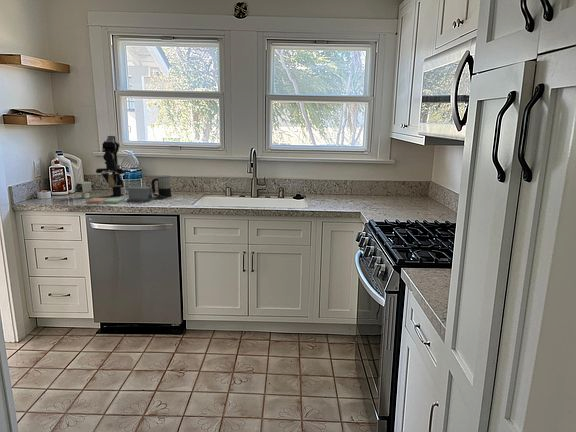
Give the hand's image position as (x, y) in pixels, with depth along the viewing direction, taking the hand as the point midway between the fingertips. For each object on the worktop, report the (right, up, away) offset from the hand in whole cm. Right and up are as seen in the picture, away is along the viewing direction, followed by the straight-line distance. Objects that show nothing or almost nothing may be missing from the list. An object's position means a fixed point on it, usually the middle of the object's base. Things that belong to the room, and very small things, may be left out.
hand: (112, 183), depth 289 cm
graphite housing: (+16, -11, +9) cm, 22 cm away
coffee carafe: (+28, -8, +21) cm, 36 cm away
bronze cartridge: (0, -2, 0) cm, 2 cm away
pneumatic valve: (-26, -9, +16) cm, 32 cm away
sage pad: (0, -12, +2) cm, 13 cm away
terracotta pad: (-12, -12, +3) cm, 17 cm away
